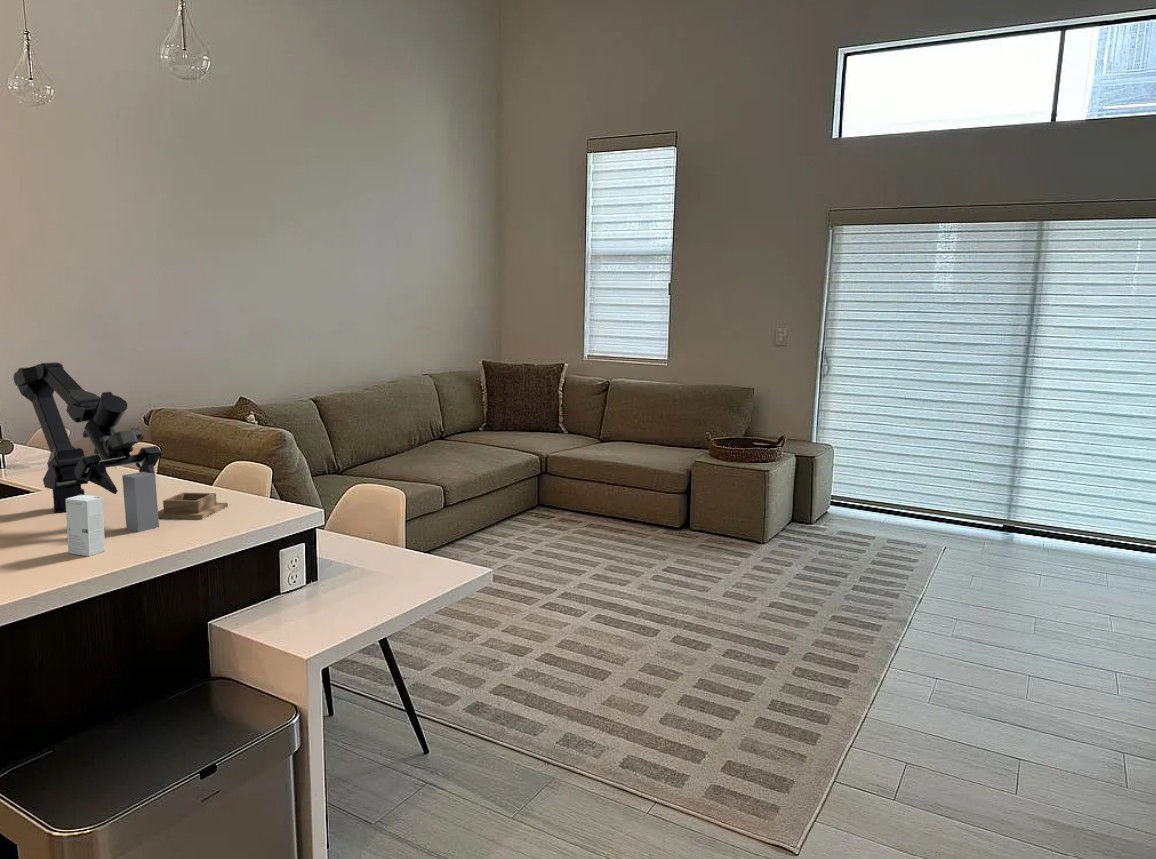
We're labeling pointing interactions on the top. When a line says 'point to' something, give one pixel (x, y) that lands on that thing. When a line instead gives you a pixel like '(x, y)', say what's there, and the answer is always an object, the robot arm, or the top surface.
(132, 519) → the grey rectangular block
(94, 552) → the skincare box
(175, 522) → the top surface
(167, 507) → the walnut socket
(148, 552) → the top surface
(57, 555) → the top surface
